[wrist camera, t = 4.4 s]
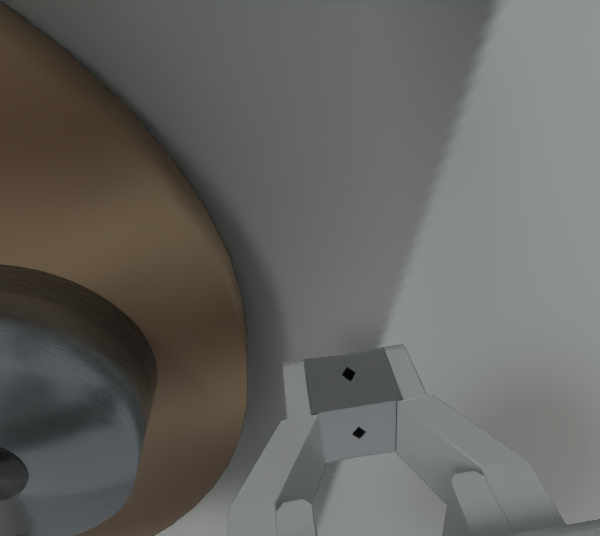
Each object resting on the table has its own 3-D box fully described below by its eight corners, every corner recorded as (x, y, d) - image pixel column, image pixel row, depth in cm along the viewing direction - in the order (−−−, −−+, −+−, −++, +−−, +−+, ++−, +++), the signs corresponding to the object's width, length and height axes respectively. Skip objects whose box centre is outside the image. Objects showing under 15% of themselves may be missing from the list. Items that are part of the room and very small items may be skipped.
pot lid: (-197, 289, 10) (-356, 395, 7) (105, 242, 10) (56, 330, 7) (-29, 460, 14) (-94, 569, 11) (185, 425, 14) (171, 524, 11)
